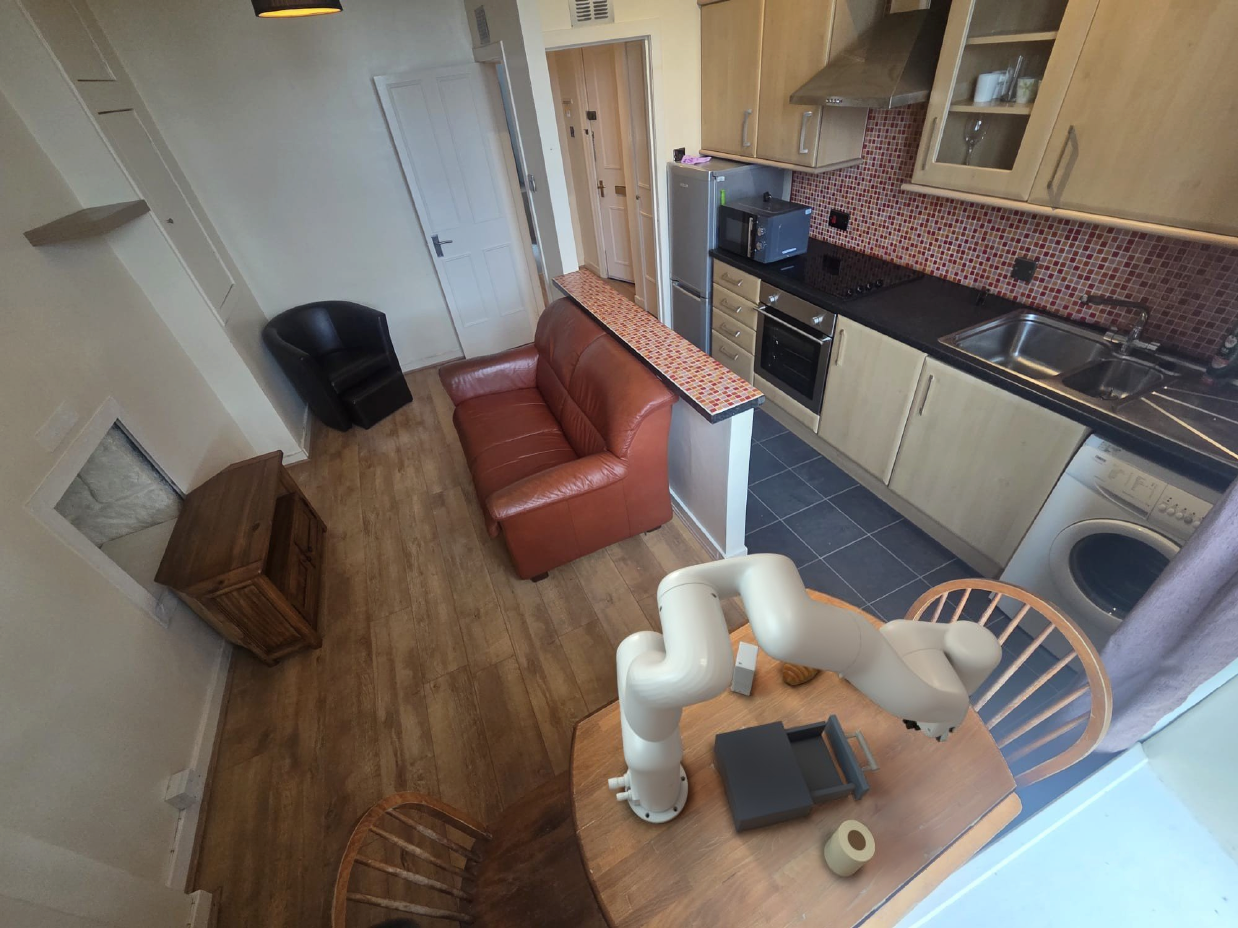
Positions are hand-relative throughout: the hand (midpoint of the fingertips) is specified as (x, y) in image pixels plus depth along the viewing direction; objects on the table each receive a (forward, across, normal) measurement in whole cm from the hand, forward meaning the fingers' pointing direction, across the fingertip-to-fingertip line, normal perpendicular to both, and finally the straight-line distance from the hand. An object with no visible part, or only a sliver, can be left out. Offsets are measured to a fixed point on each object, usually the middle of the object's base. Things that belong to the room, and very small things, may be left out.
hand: (912, 723), depth 93 cm
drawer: (+14, 0, -14) cm, 20 cm away
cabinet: (+15, 0, -28) cm, 32 cm away
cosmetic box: (+15, -20, -24) cm, 35 cm away
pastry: (+15, -20, -10) cm, 27 cm away
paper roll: (+15, +14, -18) cm, 27 cm away
